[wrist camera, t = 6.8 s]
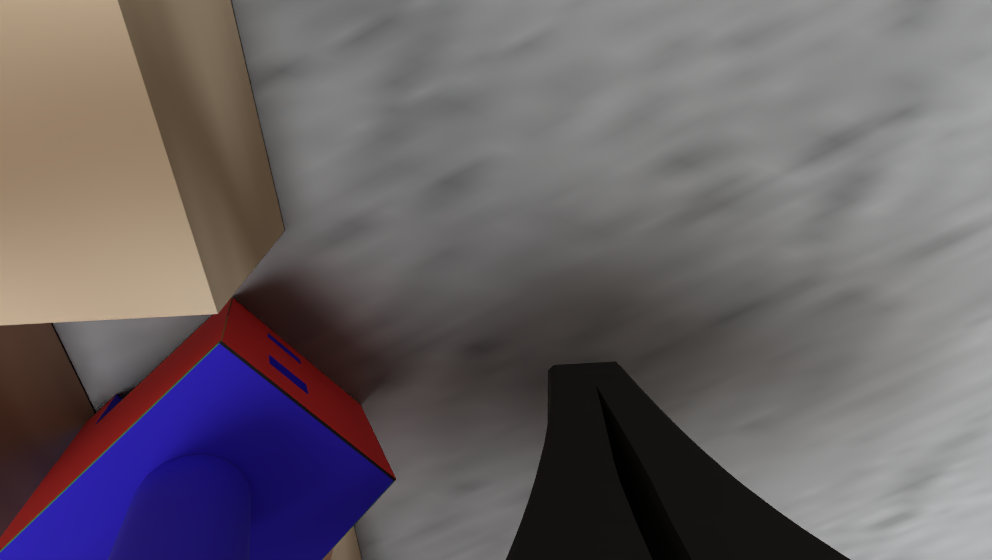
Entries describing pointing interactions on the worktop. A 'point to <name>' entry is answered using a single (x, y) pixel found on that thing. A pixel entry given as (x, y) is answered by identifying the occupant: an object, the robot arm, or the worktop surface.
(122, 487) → the toy building block
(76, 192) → the beech bracket
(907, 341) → the worktop surface
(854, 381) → the worktop surface
